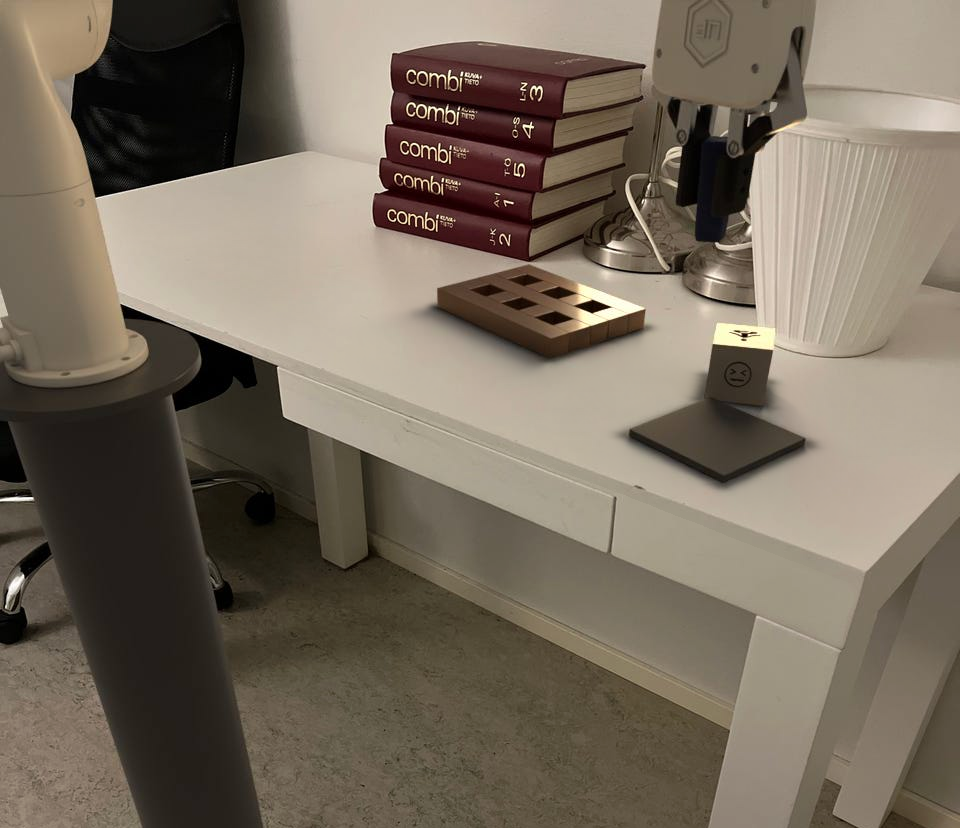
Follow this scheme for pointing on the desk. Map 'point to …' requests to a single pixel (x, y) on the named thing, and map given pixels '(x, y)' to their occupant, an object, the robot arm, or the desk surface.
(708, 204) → the eraser
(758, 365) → the dice cube
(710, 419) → the coaster
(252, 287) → the desk surface
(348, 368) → the desk surface
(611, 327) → the holder
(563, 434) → the desk surface
